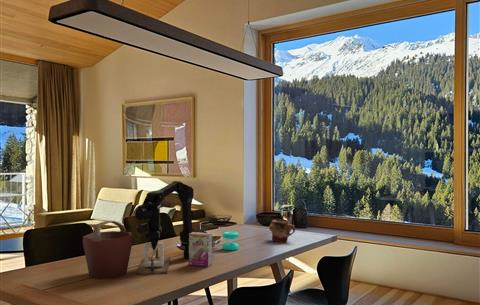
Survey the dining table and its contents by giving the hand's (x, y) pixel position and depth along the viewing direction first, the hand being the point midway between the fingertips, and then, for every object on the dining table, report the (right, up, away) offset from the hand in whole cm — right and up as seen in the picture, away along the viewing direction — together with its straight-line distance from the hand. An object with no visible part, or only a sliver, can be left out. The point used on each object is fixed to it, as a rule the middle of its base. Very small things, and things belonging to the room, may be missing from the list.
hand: (154, 249), depth 218 cm
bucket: (-20, -10, -10) cm, 25 cm away
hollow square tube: (0, -8, 0) cm, 8 cm away
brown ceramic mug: (+70, -11, +73) cm, 102 cm away
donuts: (+37, -11, +48) cm, 61 cm away
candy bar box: (+22, -10, +8) cm, 26 cm away
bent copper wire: (-1, -9, +6) cm, 11 cm away
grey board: (-1, -10, +6) cm, 12 cm away
